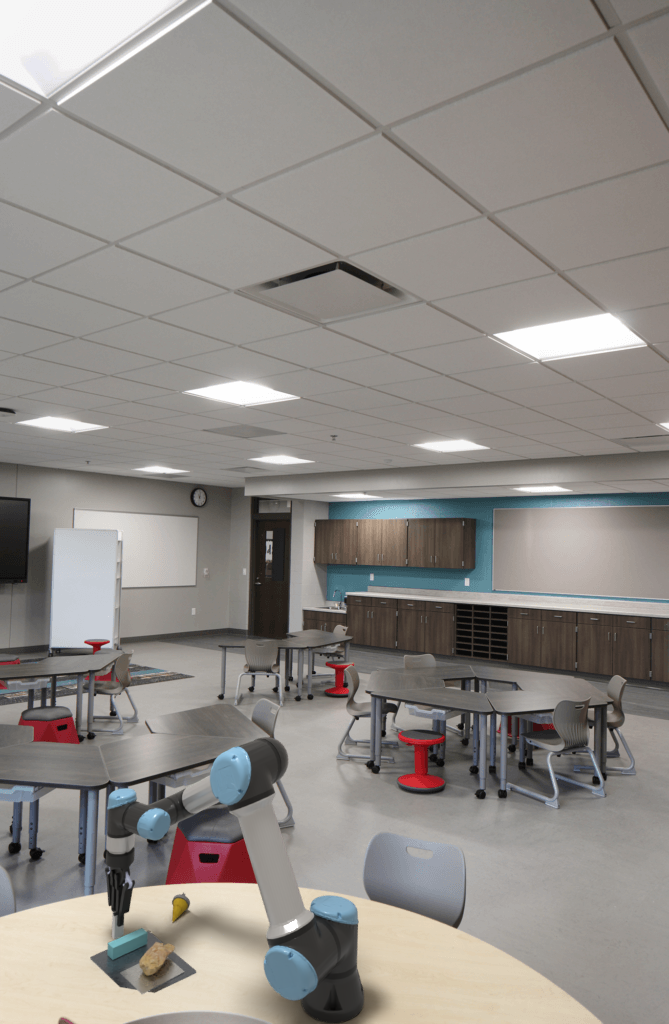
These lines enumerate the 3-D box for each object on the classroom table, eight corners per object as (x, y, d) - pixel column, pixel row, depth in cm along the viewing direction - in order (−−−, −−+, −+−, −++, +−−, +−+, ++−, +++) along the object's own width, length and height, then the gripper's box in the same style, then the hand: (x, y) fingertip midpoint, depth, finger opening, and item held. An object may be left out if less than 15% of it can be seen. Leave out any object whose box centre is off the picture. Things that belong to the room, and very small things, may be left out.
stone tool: (155, 959, 162) (152, 925, 171) (135, 980, 161) (133, 945, 170) (182, 972, 165) (177, 939, 174) (162, 993, 165) (158, 959, 174)
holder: (196, 974, 167) (196, 970, 167) (135, 1007, 155) (135, 1002, 155) (148, 934, 184) (148, 929, 184) (90, 960, 172) (90, 956, 172)
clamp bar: (147, 943, 177) (147, 932, 178) (112, 959, 170) (113, 948, 170) (141, 939, 180) (142, 927, 180) (107, 954, 172) (107, 943, 173)
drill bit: (194, 889, 198) (182, 918, 188) (192, 902, 199) (180, 931, 190) (177, 884, 198) (164, 913, 189) (176, 897, 200) (163, 926, 190)
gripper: (144, 852, 178) (141, 940, 177) (121, 836, 187) (119, 920, 186) (119, 861, 173) (116, 952, 172) (96, 844, 182) (93, 931, 181)
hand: (117, 935), depth 179 cm, fingers closed
